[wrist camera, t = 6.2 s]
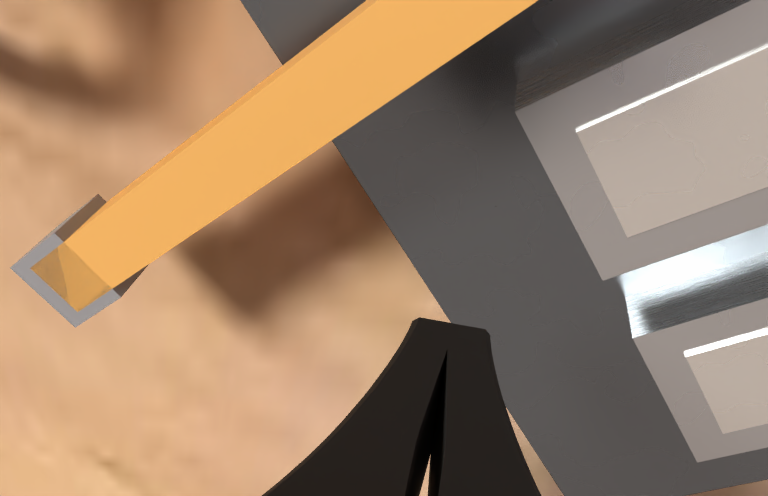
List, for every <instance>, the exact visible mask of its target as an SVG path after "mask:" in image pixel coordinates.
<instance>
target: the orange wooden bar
mask: <svg viewBox="0 0 768 496" xmlns="http://www.w3.org/2000/svg"><path fill="white" fill-rule="evenodd" d="M537 1H538V0H366V1H365V2H364V3H362V4H361V5H360V6H358V7H357V8H356V9H355V10H353V11H352V12H351V13H349V14H348V15H347V16H346V17H344V18H343V19H342V20H340V21H339V22H338V23H337V24H335V25H334V26H333V27H331V28H330V29H329V30H328V31H326V32H325V33H324V34H322V35H321V36H320V37H319V38H317V39H316V40H315V41H313V42H312V43H311V44H310V45H308V46H307V47H306V48H304V49H303V50H302V51H301V52H299V53H298V54H297V55H295V56H294V57H293V58H292V59H290V60H289V61H288V62H286V63H285V64H284V65H283V66H281V67H280V68H279V69H277V70H276V71H275V72H274V73H272V74H271V75H270V76H268V77H267V78H266V79H265V80H263V81H262V82H261V83H259V84H258V85H257V86H256V87H254V88H253V89H252V90H250V91H249V92H248V93H247V94H245V95H244V96H243V97H241V98H240V99H239V100H238V101H236V102H235V103H234V104H232V105H231V106H230V107H229V108H227V109H226V110H225V111H223V112H222V113H221V114H220V115H218V116H217V117H216V118H214V119H213V120H212V121H211V122H209V123H208V124H207V125H205V126H204V127H203V128H202V129H200V130H199V131H198V132H196V133H195V134H194V135H193V136H191V137H190V138H189V139H187V140H186V141H185V142H184V143H182V144H181V145H180V146H178V147H177V148H176V149H175V150H173V151H172V152H171V153H169V154H168V155H167V156H166V157H164V158H163V159H162V160H160V161H159V162H158V163H157V164H155V165H154V166H153V167H151V168H150V169H149V170H148V171H146V172H145V173H144V174H142V175H141V176H140V177H139V178H137V179H136V180H135V181H133V182H132V183H131V184H130V185H128V186H127V187H126V188H124V189H123V190H122V191H121V192H119V193H118V194H117V195H115V196H114V197H113V198H112V199H110V200H109V201H108V202H106V201H105V200H104V199H103V198H102V197H101V196H100V195H99V194H97V195H96V196H95V197H94V198H92V199H91V200H90V201H89V202H87V203H86V204H85V205H84V206H82V207H81V208H80V209H79V210H77V211H76V212H75V213H74V214H72V215H71V216H70V217H69V218H67V219H66V220H65V221H63V222H62V223H61V224H60V225H58V226H57V227H56V228H55V229H54V230H53V231H51V232H50V233H49V234H48V235H47V236H46V237H45V238H43V239H42V240H41V241H40V242H39V243H38V244H37V245H36V246H34V247H33V248H32V249H31V250H30V251H29V252H28V253H26V254H25V255H24V256H23V257H22V258H21V259H20V260H19V261H17V262H16V263H15V264H14V265H13V266H12V267H11V269H12V270H13V271H14V272H15V273H16V274H17V275H18V276H20V277H21V278H22V279H23V280H24V281H25V282H26V283H27V284H28V285H29V286H30V287H32V288H33V289H34V290H35V291H36V292H37V293H38V294H39V295H40V296H41V297H42V298H44V299H45V300H46V301H47V302H48V303H49V304H50V305H51V306H52V307H53V308H54V309H56V310H57V311H58V312H59V313H60V314H61V315H62V316H63V317H64V318H65V319H66V320H68V321H69V322H70V323H71V324H72V325H73V326H74V327H77V326H78V325H80V324H81V323H83V322H84V321H86V320H87V319H89V318H90V317H92V316H93V315H95V314H96V313H98V312H100V311H101V310H103V309H104V308H106V307H107V306H109V305H110V304H112V303H113V302H115V301H116V300H118V299H119V298H121V297H122V296H123V294H124V293H125V292H126V291H127V290H128V288H129V287H130V286H131V285H132V284H133V282H134V281H135V280H136V279H137V278H138V277H139V275H140V274H141V273H142V272H143V271H144V269H145V268H146V267H147V266H148V265H149V264H150V263H151V262H153V261H154V260H156V259H157V258H159V257H160V256H161V255H163V254H164V253H166V252H167V251H169V250H170V249H172V248H173V247H175V246H176V245H178V244H179V243H181V242H182V241H184V240H185V239H187V238H188V237H190V236H191V235H193V234H194V233H195V232H197V231H198V230H200V229H201V228H203V227H204V226H206V225H207V224H209V223H210V222H212V221H213V220H215V219H216V218H218V217H219V216H221V215H222V214H224V213H225V212H226V211H228V210H229V209H231V208H232V207H234V206H235V205H237V204H238V203H240V202H241V201H243V200H244V199H246V198H247V197H249V196H250V195H252V194H253V193H255V192H256V191H257V190H259V189H260V188H262V187H263V186H265V185H266V184H268V183H269V182H271V181H272V180H274V179H275V178H277V177H278V176H280V175H281V174H283V173H284V172H286V171H287V170H288V169H290V168H291V167H293V166H294V165H296V164H297V163H299V162H300V161H302V160H303V159H305V158H306V157H308V156H309V155H311V154H312V153H314V152H315V151H317V150H318V149H319V148H321V147H322V146H324V145H325V144H327V143H328V142H330V141H331V140H333V139H334V138H336V137H337V136H339V135H340V134H342V133H343V132H345V131H346V130H348V129H349V128H350V127H352V126H353V125H355V124H356V123H358V122H359V121H361V120H362V119H364V118H365V117H367V116H368V115H370V114H371V113H373V112H374V111H376V110H377V109H379V108H380V107H382V106H383V105H384V104H386V103H387V102H389V101H390V100H392V99H393V98H395V97H396V96H398V95H399V94H401V93H402V92H404V91H405V90H407V89H408V88H410V87H411V86H413V85H414V84H415V83H417V82H418V81H420V80H421V79H423V78H424V77H426V76H427V75H429V74H430V73H432V72H433V71H435V70H436V69H438V68H439V67H441V66H442V65H444V64H445V63H446V62H448V61H449V60H451V59H452V58H454V57H455V56H457V55H458V54H460V53H461V52H463V51H464V50H466V49H467V48H469V47H470V46H472V45H473V44H475V43H476V42H477V41H479V40H480V39H482V38H483V37H485V36H486V35H488V34H489V33H491V32H492V31H494V30H495V29H497V28H498V27H500V26H501V25H503V24H504V23H506V22H507V21H508V20H510V19H511V18H513V17H514V16H516V15H517V14H519V13H520V12H522V11H523V10H525V9H526V8H528V7H529V6H531V5H532V4H534V3H535V2H537Z"/></svg>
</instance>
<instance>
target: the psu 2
mask: <svg viewBox="0 0 768 496" xmlns="http://www.w3.org/2000/svg"><path fill="white" fill-rule="evenodd" d="M625 298H626V303H627V309H628V315H629V321H630V326H631V332H632V338H633V340H634V342H635V344H636V346H637V348H638V350H639V352H640V353H641V355H642V357H643V359H644V361H645V363H646V365H647V367H648V369H649V371H650V373H651V375H652V376H653V378H654V380H655V382H656V384H657V386H658V388H659V390H660V392H661V394H662V396H663V398H664V400H665V401H666V403H667V405H668V407H669V409H670V411H671V413H672V415H673V417H674V419H675V421H676V423H677V424H678V426H679V428H680V430H681V432H682V434H683V436H684V438H685V440H686V442H687V444H688V446H689V447H690V449H691V451H692V453H693V455H694V457H695V459H696V461H697V462H702V461H707V460H711V459H716V458H721V457H725V456H730V455H734V454H739V453H744V452H748V451H753V450H758V449H762V448H767V447H768V251H766V252H763V253H760V254H757V255H754V256H750V257H747V258H744V259H741V260H738V261H735V262H732V263H729V264H726V265H723V266H720V267H717V268H714V269H711V270H708V271H705V272H702V273H698V274H695V275H692V276H689V277H686V278H683V279H680V280H677V281H674V282H671V283H668V284H665V285H662V286H659V287H656V288H653V289H650V290H646V291H643V292H640V293H637V294H634V295H631V296H628V297H625Z"/></svg>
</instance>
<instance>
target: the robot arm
mask: <svg viewBox="0 0 768 496" xmlns="http://www.w3.org/2000/svg"><path fill="white" fill-rule="evenodd" d="M430 454H431V457H430ZM429 458H430V471H429V486H428V496H541V494H540V492H539V490H538V488H537V486H536V484H535V481H534V479H533V477H532V475H531V473H530V470H529V468H528V466H527V463H526V461H525V459H524V456H523V454H522V451H521V449H520V446H519V444H518V441H517V439H516V436H515V433H514V430H513V428H512V425H511V422H510V419H509V416H508V413H507V410H506V406H505V403H504V400H503V397H502V394H501V390H500V387H499V383H498V379H497V375H496V371H495V366H494V361H493V356H492V349H491V340H490V334H489V333H488V332H487V330H486V329H482V328H476V327H471V326H465V325H459V324H453V323H448V322H442V321H436V320H431V319H425V318H417V319H416V320H414V321H412V324H411V326H410V328H409V330H408V332H407V334H406V336H405V338H404V340H403V342H402V343H401V345H400V347H399V348H398V350H397V351H396V353H395V354H394V356H393V357H392V359H391V360H390V362H389V363H388V365H387V366H386V368H385V369H384V370H383V372H382V373H381V374H380V376H379V377H378V378H377V380H376V381H375V382H374V384H373V385H372V387H371V388H370V389H369V390H368V392H367V393H366V394H365V395H364V397H363V398H362V399H361V400H360V401H359V402H358V404H357V405H356V406H355V407H354V408H353V409H352V411H351V412H350V413H349V414H348V415H347V416H346V418H345V419H344V420H343V421H342V422H341V423H340V424H339V425H338V427H337V428H336V429H335V430H334V431H333V432H332V433H331V434H330V435H329V436H328V437H327V438H326V439H325V440H324V441H323V442H322V443H321V444H320V445H319V446H318V447H317V448H316V449H315V450H314V451H313V452H312V453H311V454H310V455H309V456H308V457H307V458H305V459H304V460H303V461H302V462H301V463H300V464H299V465H298V466H296V467H295V468H294V469H293V470H292V471H291V472H290V473H288V474H287V475H286V476H285V477H284V478H283V479H282V480H281V481H279V482H278V483H277V484H276V485H274V486H273V487H272V488H271V489H270V490H268V491H267V492H266V493H265V494H263V495H262V496H419V494H420V491H421V487H422V483H423V480H424V476H425V472H426V469H427V465H428V461H429Z"/></svg>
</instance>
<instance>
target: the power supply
mask: <svg viewBox="0 0 768 496" xmlns="http://www.w3.org/2000/svg"><path fill="white" fill-rule="evenodd" d="M515 114H516V115H517V117H518V119H519V121H520V123H521V125H522V127H523V129H524V131H525V133H526V135H527V137H528V138H529V140H530V142H531V144H532V146H533V148H534V150H535V152H536V154H537V156H538V158H539V160H540V162H541V163H542V165H543V167H544V169H545V171H546V173H547V175H548V177H549V179H550V181H551V183H552V185H553V186H554V188H555V190H556V192H557V194H558V196H559V198H560V200H561V202H562V204H563V206H564V208H565V209H566V211H567V213H568V215H569V217H570V219H571V221H572V223H573V225H574V227H575V229H576V231H577V233H578V234H579V236H580V238H581V240H582V242H583V244H584V246H585V248H586V250H587V252H588V254H589V256H590V257H591V259H592V261H593V263H594V265H595V267H596V269H597V271H598V273H599V275H600V277H601V279H602V281H604V280H607V279H610V278H613V277H615V276H618V275H621V274H624V273H627V272H630V271H633V270H636V269H639V268H642V267H645V266H648V265H651V264H653V263H656V262H659V261H662V260H665V259H668V258H671V257H674V256H677V255H680V254H683V253H686V252H689V251H692V250H694V249H697V248H700V247H703V246H706V245H709V244H712V243H715V242H718V241H721V240H724V239H727V238H730V237H733V236H735V235H738V234H741V233H744V232H747V231H750V230H753V229H756V228H759V227H762V226H765V225H768V0H689V1H686V2H684V3H682V4H680V5H678V6H676V7H674V8H672V9H670V10H668V11H666V12H664V13H662V14H660V15H658V16H656V17H654V18H652V19H650V20H648V21H646V22H644V23H642V24H640V25H638V26H635V27H633V28H631V29H629V30H627V31H625V32H623V33H621V34H619V35H617V36H615V37H613V38H611V39H609V40H607V41H605V42H603V43H601V44H599V45H597V46H595V47H593V48H591V49H589V50H587V51H584V52H582V53H580V54H578V55H576V56H574V57H572V58H570V59H568V60H566V61H564V62H562V63H560V64H558V65H556V66H554V67H552V68H550V69H548V70H546V71H544V72H542V73H540V74H538V75H535V76H533V77H531V78H529V79H527V80H525V81H523V82H521V83H519V84H517V90H516V103H515Z"/></svg>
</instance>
